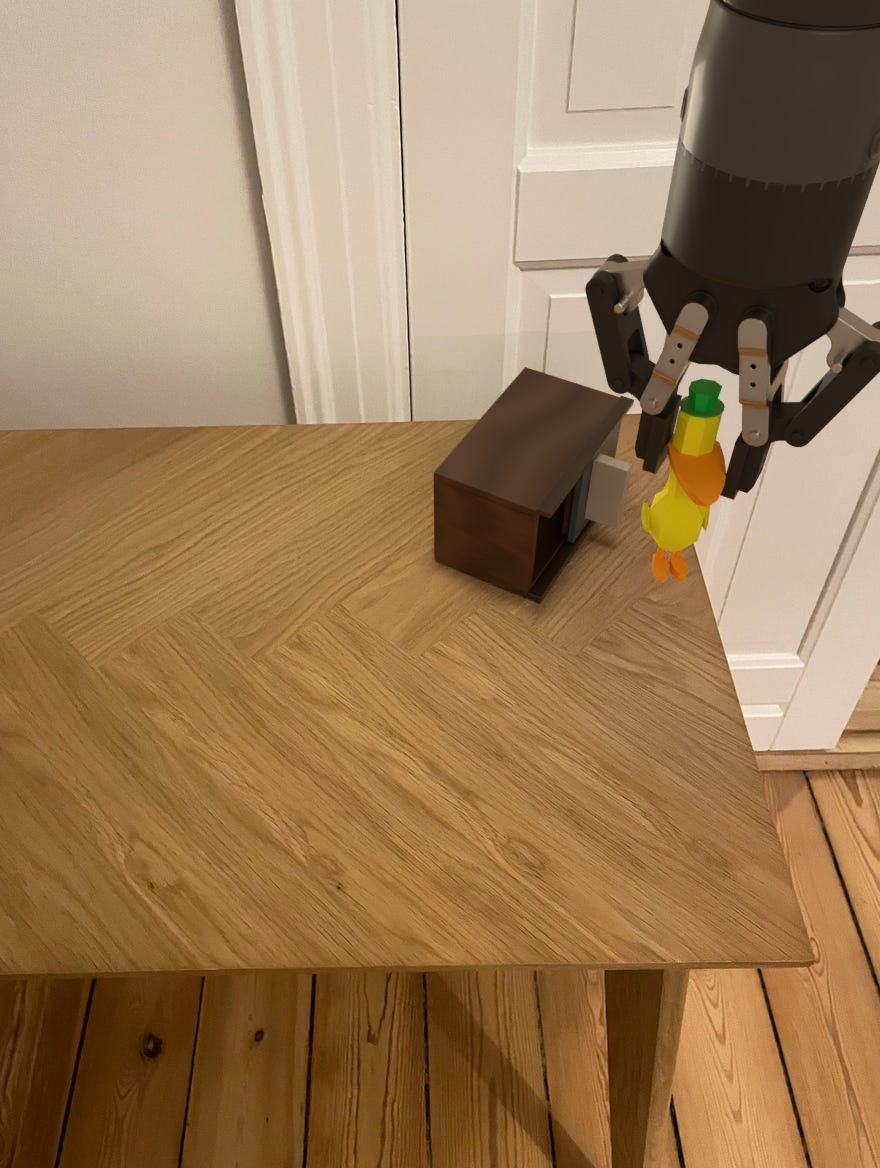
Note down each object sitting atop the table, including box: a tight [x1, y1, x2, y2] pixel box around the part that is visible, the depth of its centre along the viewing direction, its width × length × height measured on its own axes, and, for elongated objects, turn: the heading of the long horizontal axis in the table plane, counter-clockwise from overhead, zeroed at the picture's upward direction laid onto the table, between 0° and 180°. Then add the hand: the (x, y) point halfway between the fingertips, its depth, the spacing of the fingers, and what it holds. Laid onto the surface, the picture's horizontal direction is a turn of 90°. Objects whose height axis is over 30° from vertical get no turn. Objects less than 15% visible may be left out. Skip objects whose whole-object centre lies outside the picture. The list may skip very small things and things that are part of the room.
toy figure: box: [640, 378, 727, 582], centre depth 51 cm, size 7×4×12 cm, turn 0°
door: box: [567, 421, 633, 543], centre depth 82 cm, size 4×8×8 cm, turn 149°
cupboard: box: [433, 366, 635, 604], centre depth 83 cm, size 10×16×10 cm, turn 149°
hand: (693, 474), depth 50 cm, fingers closed on toy figure, 3 cm apart
